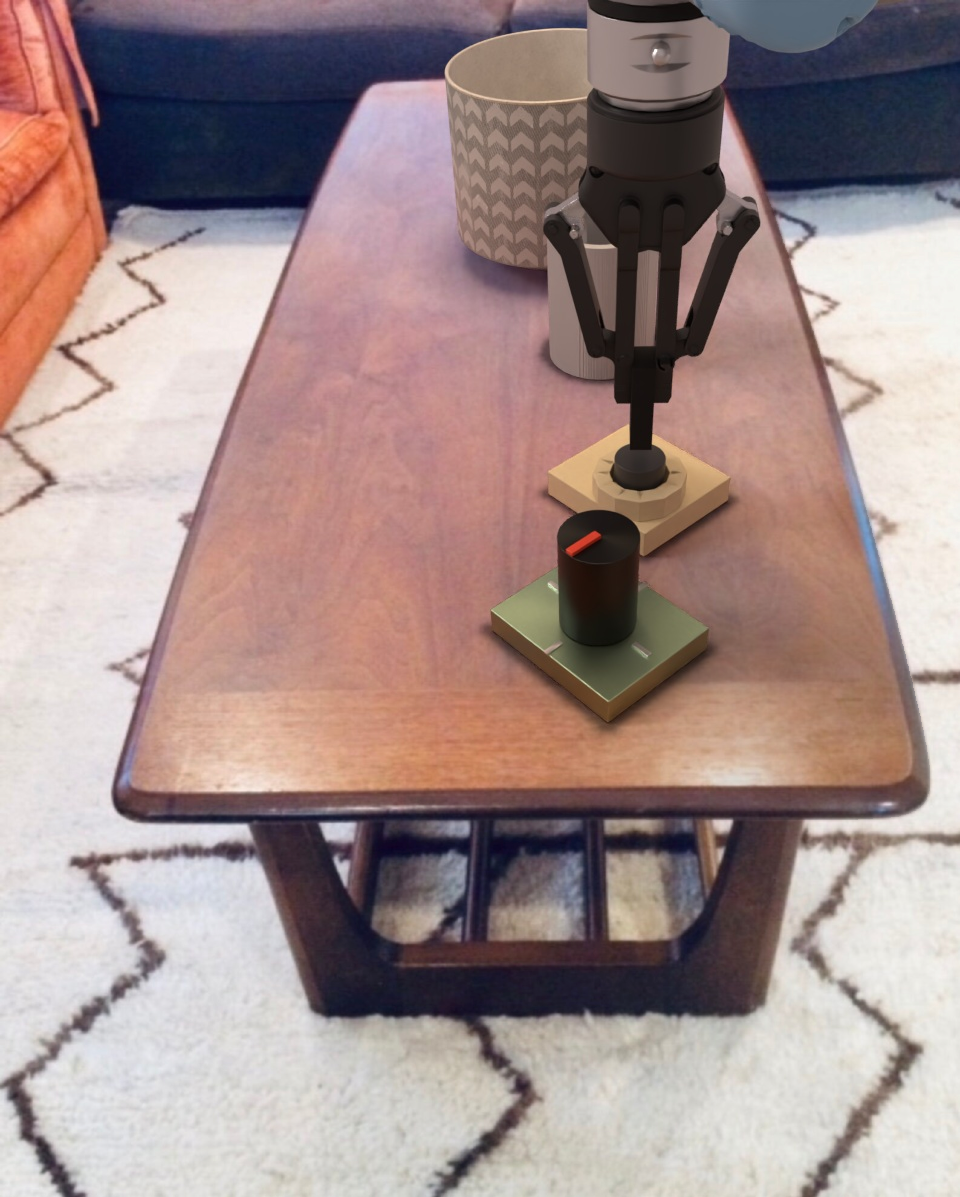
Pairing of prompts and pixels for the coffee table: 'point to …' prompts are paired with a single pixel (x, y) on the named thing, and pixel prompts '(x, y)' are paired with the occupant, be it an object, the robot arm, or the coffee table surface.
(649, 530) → the button box
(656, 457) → the button
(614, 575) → the knob
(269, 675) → the coffee table surface
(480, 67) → the planter
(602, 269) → the cup
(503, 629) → the dial panel
